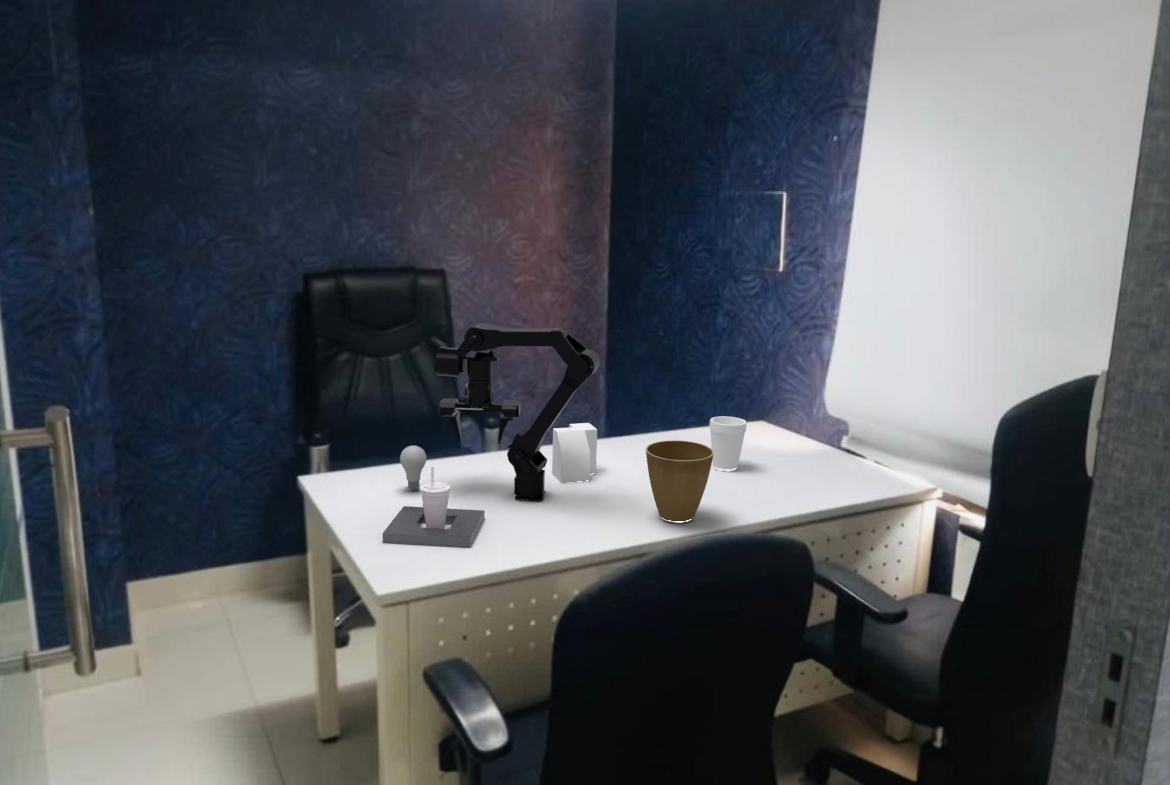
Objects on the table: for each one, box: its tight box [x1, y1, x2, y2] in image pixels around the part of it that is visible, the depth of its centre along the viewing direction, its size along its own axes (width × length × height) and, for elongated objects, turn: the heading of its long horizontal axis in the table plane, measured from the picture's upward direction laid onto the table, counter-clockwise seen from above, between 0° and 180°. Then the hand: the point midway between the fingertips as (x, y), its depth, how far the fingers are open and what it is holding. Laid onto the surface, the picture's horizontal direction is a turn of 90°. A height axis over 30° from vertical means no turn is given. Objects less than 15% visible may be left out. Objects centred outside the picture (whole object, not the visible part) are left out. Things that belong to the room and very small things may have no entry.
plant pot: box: [645, 439, 714, 521], centre depth 199 cm, size 15×15×16 cm
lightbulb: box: [399, 445, 427, 491], centre depth 212 cm, size 6×6×11 cm
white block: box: [551, 422, 598, 484], centre depth 228 cm, size 11×11×12 cm
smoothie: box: [419, 466, 451, 529], centre depth 188 cm, size 6×6×14 cm
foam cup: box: [709, 415, 747, 469], centre depth 237 cm, size 10×9×13 cm
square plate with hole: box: [382, 505, 486, 548], centre depth 189 cm, size 18×16×2 cm
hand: (479, 442), depth 212 cm, fingers open, 9 cm apart
